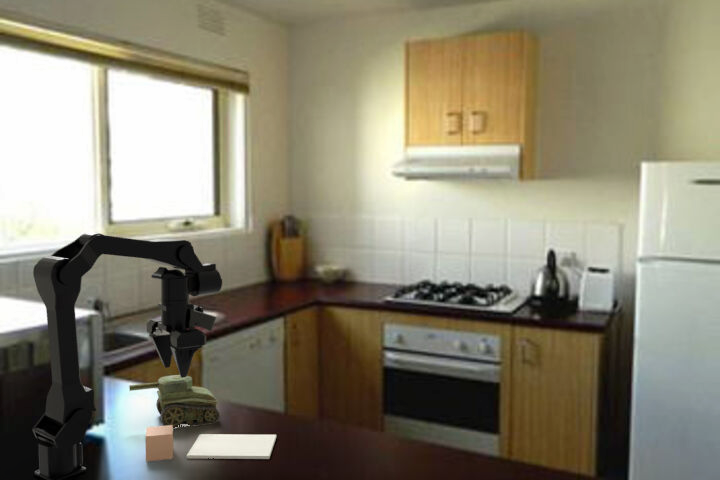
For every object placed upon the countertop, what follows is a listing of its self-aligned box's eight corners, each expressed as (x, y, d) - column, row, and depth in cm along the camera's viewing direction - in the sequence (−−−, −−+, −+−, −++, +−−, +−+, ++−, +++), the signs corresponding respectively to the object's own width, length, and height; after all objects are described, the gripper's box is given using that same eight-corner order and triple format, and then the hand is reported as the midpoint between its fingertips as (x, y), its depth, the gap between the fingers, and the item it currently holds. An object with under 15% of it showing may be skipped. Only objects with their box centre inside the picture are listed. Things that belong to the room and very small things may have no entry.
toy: (128, 419, 152) (127, 376, 151) (211, 409, 159) (210, 367, 158) (132, 435, 143) (131, 388, 142) (219, 423, 150) (219, 379, 149)
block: (145, 461, 129) (145, 436, 129) (147, 451, 134) (146, 427, 134) (173, 459, 130) (172, 434, 130) (173, 449, 135) (172, 425, 135)
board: (186, 458, 131) (186, 455, 130) (200, 436, 141) (200, 434, 141) (269, 458, 130) (269, 455, 130) (276, 437, 141) (276, 434, 141)
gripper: (230, 302, 138) (229, 376, 140) (194, 290, 153) (194, 358, 154) (177, 306, 132) (177, 385, 133) (145, 294, 147) (145, 364, 148)
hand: (175, 372), depth 142 cm, fingers open, 9 cm apart
